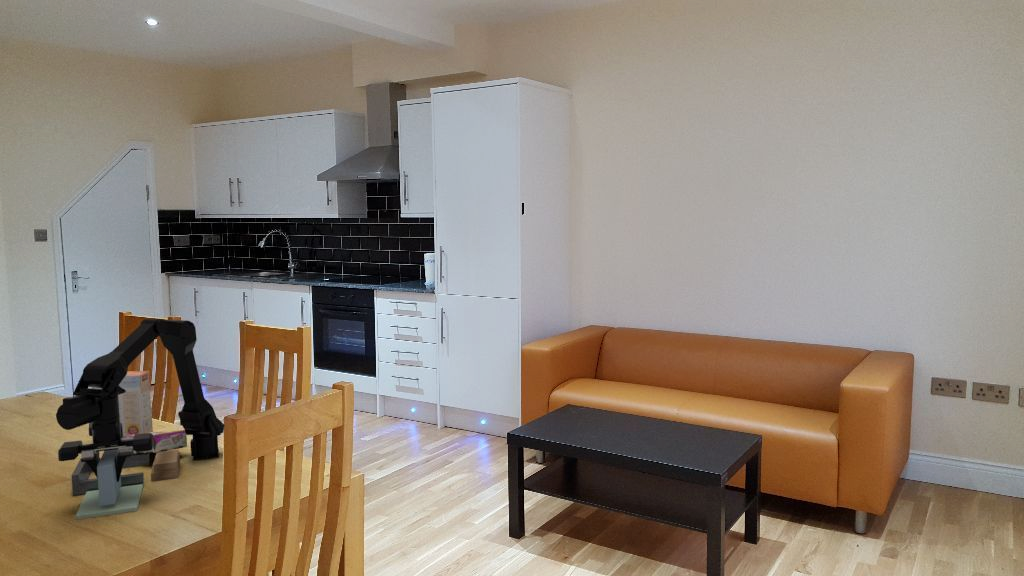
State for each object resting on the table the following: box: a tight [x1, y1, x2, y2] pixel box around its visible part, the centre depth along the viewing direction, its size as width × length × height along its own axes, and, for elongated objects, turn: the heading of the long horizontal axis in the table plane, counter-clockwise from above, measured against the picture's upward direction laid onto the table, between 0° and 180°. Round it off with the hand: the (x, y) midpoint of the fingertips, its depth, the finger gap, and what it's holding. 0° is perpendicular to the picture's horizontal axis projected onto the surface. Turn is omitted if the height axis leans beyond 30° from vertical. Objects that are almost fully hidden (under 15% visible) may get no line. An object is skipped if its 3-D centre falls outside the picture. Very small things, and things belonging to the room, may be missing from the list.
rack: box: [70, 453, 151, 497], centre depth 182 cm, size 15×18×5 cm
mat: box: [75, 484, 144, 520], centre depth 167 cm, size 12×15×1 cm
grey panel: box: [97, 449, 121, 506], centre depth 166 cm, size 3×12×9 cm, turn 22°
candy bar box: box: [114, 429, 188, 454], centre depth 196 cm, size 11×5×16 cm
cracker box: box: [91, 370, 154, 436], centre depth 208 cm, size 14×6×21 cm, turn 92°
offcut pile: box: [150, 449, 181, 482], centre depth 186 cm, size 6×12×4 cm, turn 22°
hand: (110, 482), depth 167 cm, fingers closed on grey panel, 3 cm apart
